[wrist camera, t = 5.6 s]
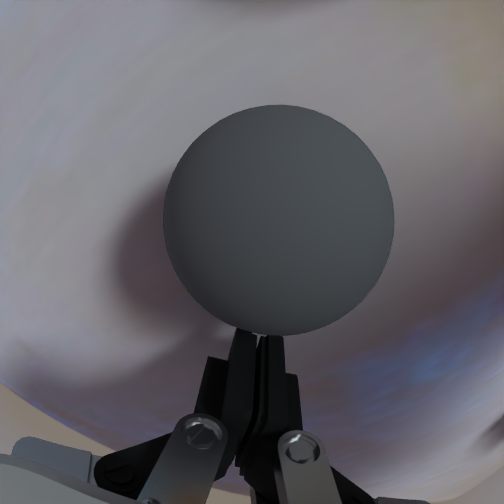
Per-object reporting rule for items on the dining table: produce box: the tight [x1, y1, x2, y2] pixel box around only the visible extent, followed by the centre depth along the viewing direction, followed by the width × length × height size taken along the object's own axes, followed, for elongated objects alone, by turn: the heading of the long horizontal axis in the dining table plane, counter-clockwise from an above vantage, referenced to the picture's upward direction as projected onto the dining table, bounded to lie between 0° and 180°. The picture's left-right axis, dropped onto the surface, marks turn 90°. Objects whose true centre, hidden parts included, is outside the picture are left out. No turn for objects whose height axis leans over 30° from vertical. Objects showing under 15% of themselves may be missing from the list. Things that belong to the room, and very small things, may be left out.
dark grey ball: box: [163, 105, 394, 336], centre depth 8 cm, size 6×6×6 cm
